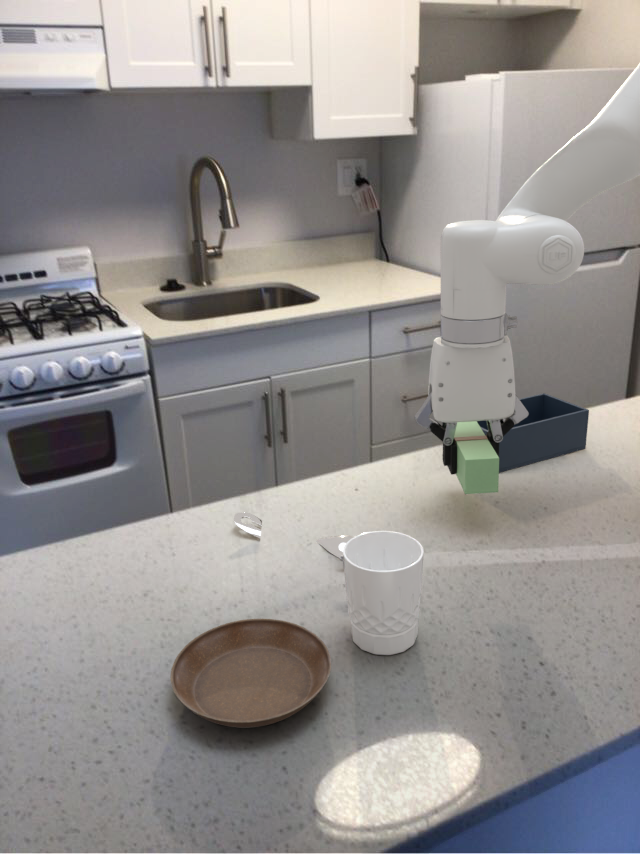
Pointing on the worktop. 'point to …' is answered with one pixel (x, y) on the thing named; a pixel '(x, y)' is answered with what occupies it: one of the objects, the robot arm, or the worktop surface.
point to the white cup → (383, 590)
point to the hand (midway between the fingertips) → (470, 467)
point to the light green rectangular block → (475, 459)
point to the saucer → (251, 672)
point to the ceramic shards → (329, 543)
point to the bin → (543, 432)
